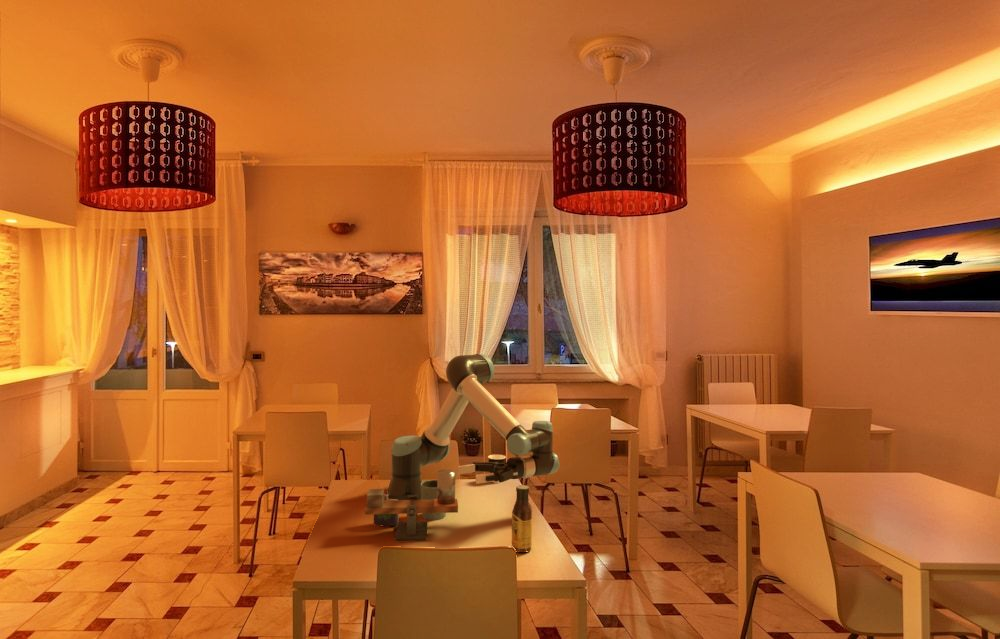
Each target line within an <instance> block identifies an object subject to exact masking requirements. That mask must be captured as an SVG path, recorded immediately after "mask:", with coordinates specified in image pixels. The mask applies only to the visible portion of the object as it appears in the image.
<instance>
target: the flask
mask: <svg viewBox="0 0 1000 639" xmlns="http://www.w3.org/2000/svg"><path fill="white" fill-rule="evenodd" d="M388 496H389V494H387V493H384V500H397V499H388ZM399 515H400V514H373V525H374V524H375V525H374V526H378V525H383V526H382V527H387V526H394V528H396V527H395V526H398V522H399V518H400V517H399Z"/></svg>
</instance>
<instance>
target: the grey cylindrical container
mask: <svg viewBox="0 0 1000 639" xmlns="http://www.w3.org/2000/svg"><path fill="white" fill-rule="evenodd" d="M434 499H437V479H429V480H424V481H423V480H422V483H421V499H420V500H434ZM446 515H447V513H421V516H422V517H421V518H423V519H424V520H426V521H427V520H428V521H438V520H439V521H440V520H443V519H445V518H446ZM444 517H445V518H444Z"/></svg>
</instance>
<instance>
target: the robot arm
mask: <svg viewBox="0 0 1000 639" xmlns="http://www.w3.org/2000/svg"><path fill="white" fill-rule="evenodd" d="M494 375H495V367H494V363H493V361H492V359H491V358H490V357H489V356H487V355H486V354H482V353H481V354H480V353H475V354H465V355H463V354H462V355H456V356H453V357H452V358H451V359H450V360H449V361H448V362H447V365H446V368H445V377H446V380H447V382H448V384H449V386H451V389H450V391H449V394H448V395H447V397H446V399H445V401H444V402H443V404H442V406H441V408H440V409H439V411H438V413H437V415H436V417H434V420H433V422H432V424H431V426H427V427H426V428H425V429H424V431H423V432H422V434H421V436H419V435H412V434H411V435H404V436H400V437H399V436H398V437H397V438H395V439H394V440H393V442H392V445H391V479H390V482H389V483H388V484H389V485H388V488H387V490H386V494H389V496H388V499H397V500H408V496H411V495H417V500H421V483H422V482H423V479H422V467H425V466H428V465H433V464H437V463H440V462H442V461H443V460H444V459H446V458H447V456H448V455H449V452H450V450H451V448H450V442H451V440H450V435H451V433H452V432H453V430H454V428H455V426H456V425H457V422H458V421H459V420H460V417H461V416H462V414H463V413H464V411H465V410H466V407H467V406H468V404H469V403H470V404H471V405H472V406H473V407H474V409H476V410H477V411H478V413H480V415H481V416H482V417H484V419H485V420H487V421H488V423H489V424H490V425H491V426H492V427H493V428H494V429H495V430H496V431H497V432H498V434H500V435H501V436H502V437H503V438H504V439H505V441H506V447H507V450H508V452H509V453H510V454H512V455H514V456H515V457H513V456H512V457H509V458H508V459H507V460H506V461H505V463H500V462H489V461H486V462H485V461H482V462H481V461H480V462H479V461H478V462H477V461H474V462H472V464H465V465H459V466H457V475H465V474H475V473H476V472H481V474H476V475H475V484H484V483H492V481H494V480H495V481H496V482H497V481H499V482H500V483H499V484H502V483H504V482H507V481H509V480H518V479H521V478H522V479H523V478H524V479H528V478H531V477H537V476H547V475H551V474H555V473H557V472H558V470H559V469H560V461H559V456H558V455H557V453H555V452H553V447H554V446H553V442H554V436H553V435H554V431H553V430H554V428H553V423H552V422H550V421H548V420H535V421H533V422H532V424H531V425H532V426H531V429H528V430H527V429H526V428H525V427H524V426H523V425H522V424H520V422H518V420H517V419H516V418H515V417H514V416H513V415H512V414H511V413H510V412H509V411H508V410H507V409H506V408H505V407H504V406H503V405H502V404H501V403H500V402H499V401H498V400H497V399H496V398H495V397H494V396H493V395H492V394H491V393H490V392H489V391H488V390H487V389H486V388H485V387H484V384H487V383H489V382H490V381H492V379H493V378H494ZM529 453H532V454H530V455H527V454H529ZM482 472H486V473H482ZM490 472H492V473H490ZM494 474H495V475H494Z"/></svg>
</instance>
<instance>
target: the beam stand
mask: <svg viewBox="0 0 1000 639" xmlns="http://www.w3.org/2000/svg"><path fill="white" fill-rule="evenodd" d="M411 499H414V500H417V495H411V496H408V500H411ZM416 507H417V505H407V514H406V521H405V522H404V521H403V522H402V521H401V522H398V526H397V527H396V533H395V542H396V541H409V542H427V541H428V521H418V513H416Z"/></svg>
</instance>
